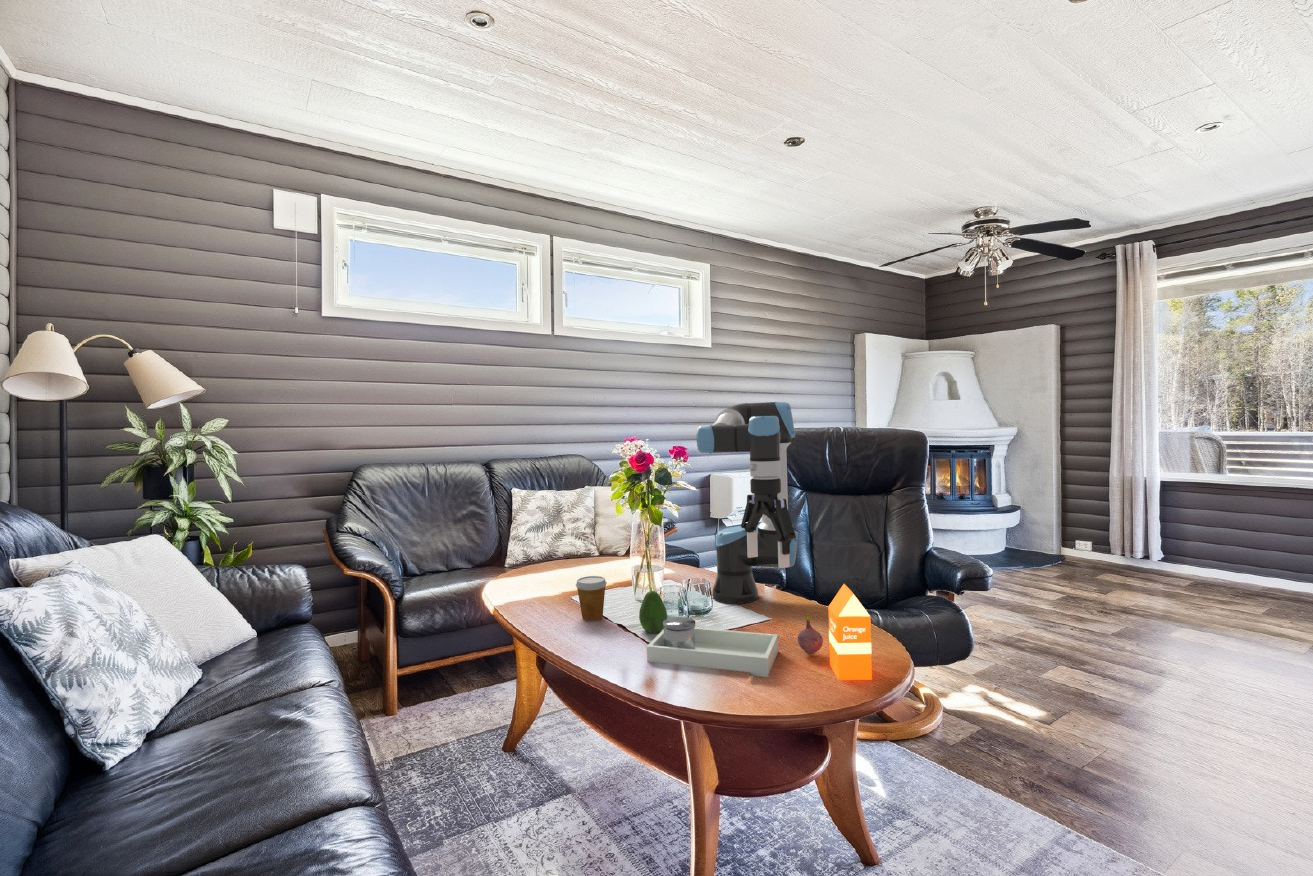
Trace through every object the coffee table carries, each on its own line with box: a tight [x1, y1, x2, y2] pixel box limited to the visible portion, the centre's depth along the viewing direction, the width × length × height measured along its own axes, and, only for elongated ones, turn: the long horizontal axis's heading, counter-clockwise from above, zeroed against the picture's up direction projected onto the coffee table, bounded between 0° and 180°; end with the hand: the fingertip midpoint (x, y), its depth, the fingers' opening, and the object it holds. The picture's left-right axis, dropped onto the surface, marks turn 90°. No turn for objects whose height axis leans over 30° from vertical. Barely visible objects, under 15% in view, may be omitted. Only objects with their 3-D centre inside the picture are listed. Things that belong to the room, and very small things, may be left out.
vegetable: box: [797, 616, 824, 656], centre depth 157 cm, size 6×6×10 cm
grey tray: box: [646, 627, 780, 678], centre depth 157 cm, size 16×30×4 cm, turn 70°
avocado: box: [638, 590, 668, 634], centre depth 176 cm, size 8×8×12 cm
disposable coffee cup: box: [575, 575, 607, 622], centre depth 192 cm, size 10×10×12 cm
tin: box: [663, 616, 696, 649], centre depth 160 cm, size 8×8×8 cm
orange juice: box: [828, 583, 873, 681], centre depth 146 cm, size 8×9×20 cm
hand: (767, 562), depth 156 cm, fingers open, 13 cm apart
